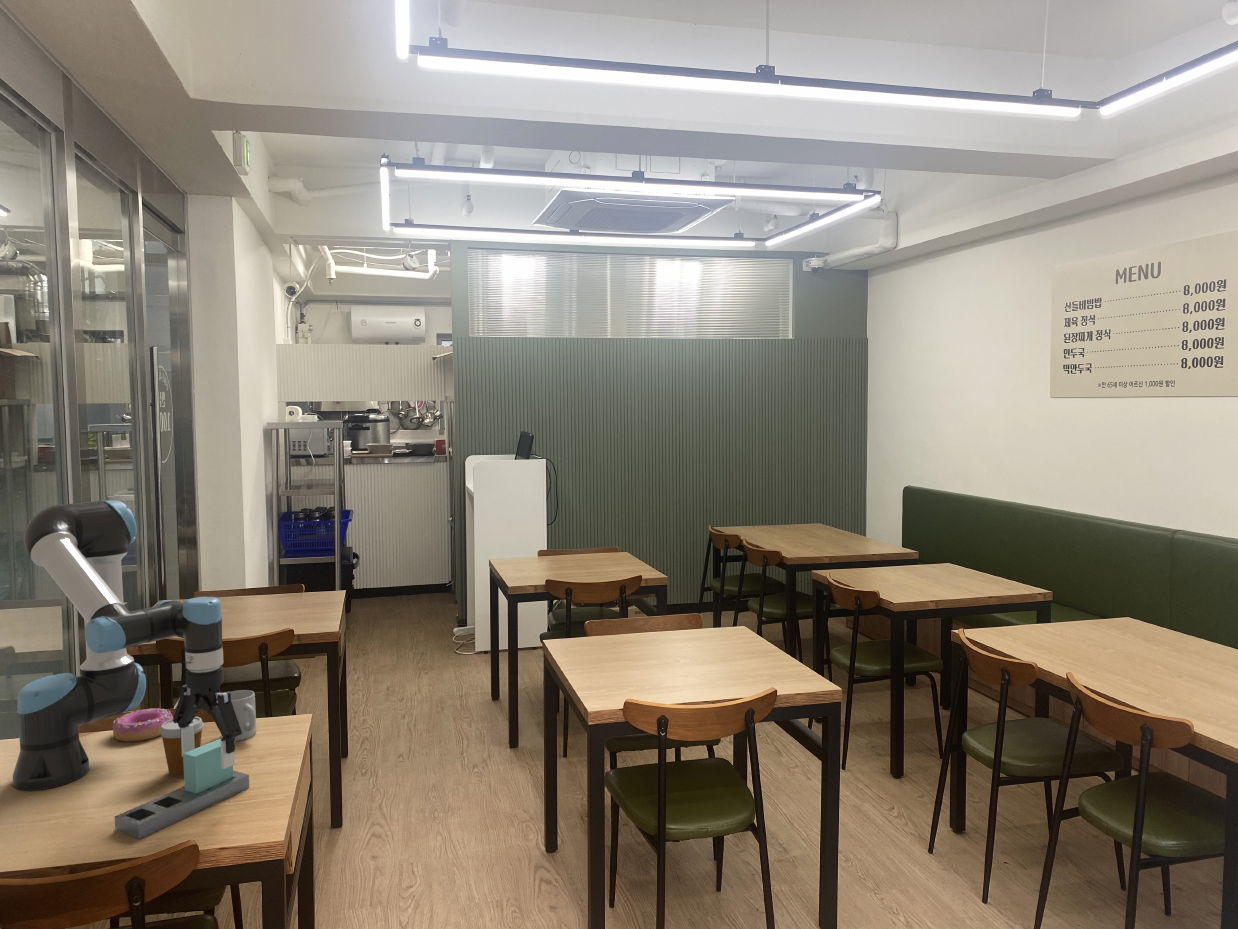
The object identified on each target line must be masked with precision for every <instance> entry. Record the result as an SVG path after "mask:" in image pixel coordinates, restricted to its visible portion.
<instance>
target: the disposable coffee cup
mask: <svg viewBox="0 0 1238 929" xmlns="http://www.w3.org/2000/svg"><path fill="white" fill-rule="evenodd" d="M193 722H194V723H191V724H189V725H194V741H195V749H196V748H198V747H201V746H202V735H203V734H202V733H203V732H202V731H203V729H204V726H205V723H204V722H203V719H202V718H201V717H199V716H197V715H196V716H195V717H194V719H193ZM159 733H160V734H161V735H160V736H161V738H162V743H163V748H164V753H165V759H166V764H167V768H168V769H167V770H168V774H169V776H170V777H175V778H178V777H184V764H183V757H182V746H181V735H180V734H181V733H180V727H179V726H178V723H174V722H173V719H172V720H169V721H167V722H165V723H163V724H162V726H161V729H160V731H159Z"/></svg>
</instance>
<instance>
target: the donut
mask: <svg viewBox="0 0 1238 929" xmlns="http://www.w3.org/2000/svg"><path fill="white" fill-rule="evenodd" d="M171 712H172V711H171V710H169V709H165V708H159V707H158V708H156V707H155V708H154V707H153V708H152V707H151V708H145V709H142V708H141V709H138V710H134V711H132V712H128V713H125V714H121V716H119V717H117V718H116V719H114V720H113V723H112V724H113V726H112V733H113V736H114V737H115V739H116V740H118V741H121V742H127V743H130V742H131V743H132V742H140V741H141V742H142V741H146V740H152V739H154V738H157V737H160V736H161V734H160V733H159V731H160V729H161V726H162V724H163V723H165V722H167V721H169V720H172V719H173V718H174V715H173V714H172V713H171Z"/></svg>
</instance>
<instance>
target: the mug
mask: <svg viewBox="0 0 1238 929" xmlns="http://www.w3.org/2000/svg"><path fill="white" fill-rule="evenodd" d="M229 692H230V694H231V702H232V705H233V708H234V711H235V714H236V716H237V719H238V722H239V725H240V728H241V731H242V734H241V735H239V736H237V737H235V742H239V741H240V742H241V741H244V740H247V739H250V738H252V737H254V736H255V735H256V734H257V714H256V697H255V696H256V695H255V692H254V691H253V690H248V689H243V690H241V689H240V690H233V691H229ZM235 731H236V730H235ZM222 738H223V736H222V735H221V739H222Z"/></svg>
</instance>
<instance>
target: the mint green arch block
mask: <svg viewBox="0 0 1238 929" xmlns="http://www.w3.org/2000/svg"><path fill="white" fill-rule="evenodd" d="M221 739H222V738H219V739H216V740H214V741H211V742H209V743H206V744H204V745H201V746H200V747H198V748H196V749H193V750H191V751H188V752H185V753H183V764H184V776H183V780H184V781H183V782H184V786H185V790H186V791H188V792H191V793H194V794H200V793H202V792H204V791H207V789H208V788H211V787H213V786H215V785H217V784H219V783H224V782H227V781H229V780H231V778H233V770H234V765H232V766H230V767H228V768H225V769H222V766H221Z"/></svg>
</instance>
